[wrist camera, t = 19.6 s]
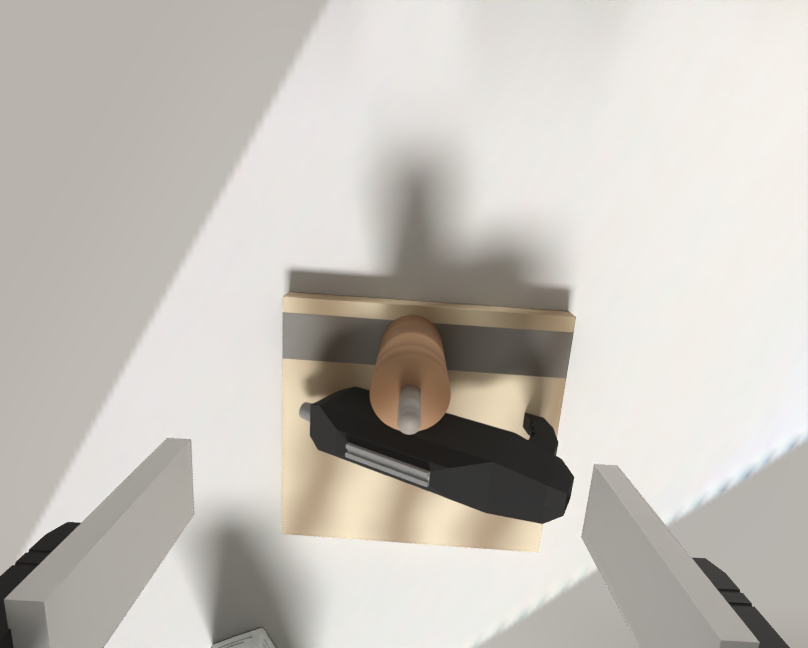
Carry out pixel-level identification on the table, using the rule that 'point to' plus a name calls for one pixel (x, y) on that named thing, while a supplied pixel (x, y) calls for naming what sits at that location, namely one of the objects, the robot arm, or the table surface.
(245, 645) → the ink box
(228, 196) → the table surface
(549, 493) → the gun
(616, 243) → the table surface
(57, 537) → the robot arm
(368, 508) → the board
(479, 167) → the table surface
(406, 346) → the awl
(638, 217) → the table surface
